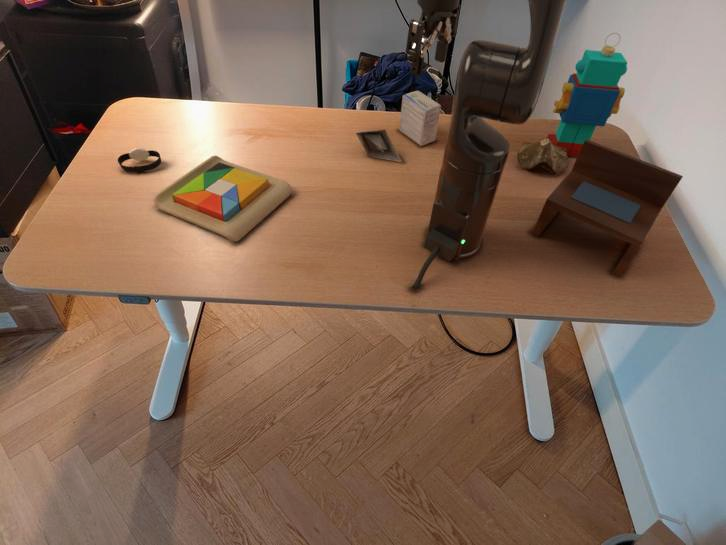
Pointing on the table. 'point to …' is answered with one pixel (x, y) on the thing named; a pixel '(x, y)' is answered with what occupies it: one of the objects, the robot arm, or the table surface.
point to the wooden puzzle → (223, 197)
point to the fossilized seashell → (543, 156)
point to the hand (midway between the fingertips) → (428, 67)
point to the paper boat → (378, 145)
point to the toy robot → (589, 98)
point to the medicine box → (419, 117)
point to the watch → (139, 155)
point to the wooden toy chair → (611, 195)
